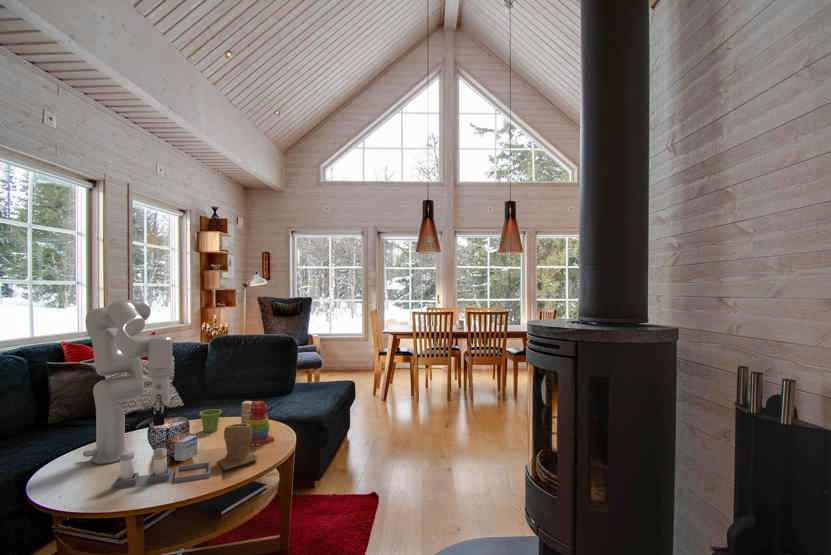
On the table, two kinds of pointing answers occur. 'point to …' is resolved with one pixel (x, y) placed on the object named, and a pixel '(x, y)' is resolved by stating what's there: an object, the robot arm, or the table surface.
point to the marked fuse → (160, 461)
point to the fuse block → (143, 480)
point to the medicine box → (185, 448)
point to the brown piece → (237, 446)
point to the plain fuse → (127, 466)
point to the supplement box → (246, 411)
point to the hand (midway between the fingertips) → (160, 421)
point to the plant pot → (210, 420)
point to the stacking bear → (259, 423)
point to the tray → (192, 477)
